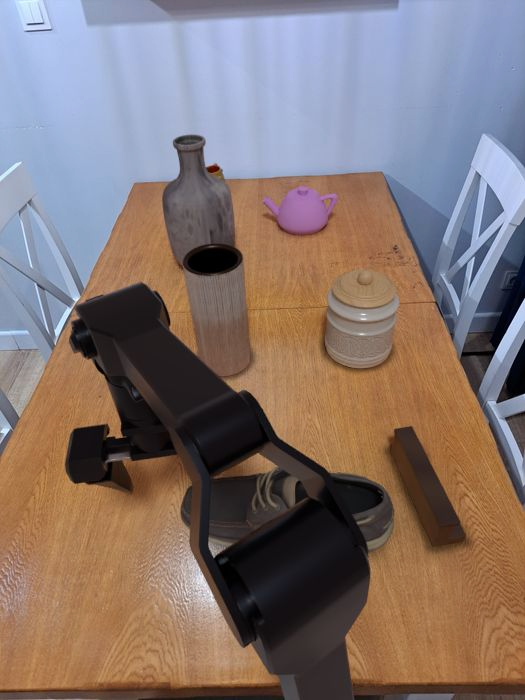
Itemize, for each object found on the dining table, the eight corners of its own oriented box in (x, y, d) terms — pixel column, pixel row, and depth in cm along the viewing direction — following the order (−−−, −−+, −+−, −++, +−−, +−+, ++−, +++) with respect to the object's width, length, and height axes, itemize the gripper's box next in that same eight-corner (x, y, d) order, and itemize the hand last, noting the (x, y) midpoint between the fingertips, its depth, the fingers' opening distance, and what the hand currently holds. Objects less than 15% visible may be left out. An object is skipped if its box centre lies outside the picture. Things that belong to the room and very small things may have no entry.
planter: (192, 353, 97) (173, 252, 82) (237, 336, 100) (227, 237, 85) (212, 384, 90) (195, 281, 75) (259, 365, 94) (253, 263, 78)
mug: (223, 194, 152) (221, 173, 147) (202, 194, 153) (199, 173, 148) (230, 178, 161) (228, 158, 156) (209, 178, 161) (207, 158, 157)
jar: (333, 321, 103) (338, 247, 91) (395, 333, 99) (409, 257, 87) (316, 362, 94) (319, 285, 82) (385, 376, 90) (398, 298, 78)
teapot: (264, 214, 141) (263, 177, 134) (334, 213, 139) (336, 176, 132) (261, 237, 130) (260, 200, 123) (337, 237, 129) (339, 198, 122)
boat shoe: (190, 483, 75) (179, 439, 68) (384, 485, 73) (394, 440, 66) (178, 552, 67) (165, 511, 60) (396, 556, 65) (408, 515, 58)
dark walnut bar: (463, 541, 66) (474, 519, 62) (431, 547, 66) (440, 526, 62) (416, 447, 78) (423, 423, 74) (389, 451, 78) (394, 428, 74)
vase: (247, 272, 118) (237, 145, 98) (182, 288, 114) (159, 159, 94) (226, 242, 130) (214, 122, 109) (167, 255, 126) (143, 134, 106)
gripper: (228, 335, 56) (238, 423, 66) (61, 356, 54) (98, 442, 65) (240, 409, 48) (248, 495, 58) (43, 436, 46) (88, 520, 56)
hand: (169, 484), depth 59 cm, fingers open, 9 cm apart
